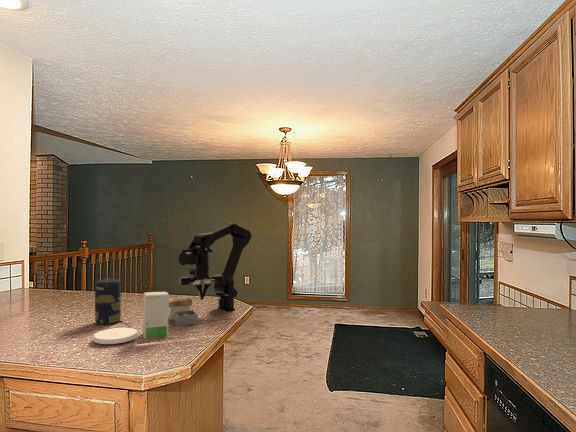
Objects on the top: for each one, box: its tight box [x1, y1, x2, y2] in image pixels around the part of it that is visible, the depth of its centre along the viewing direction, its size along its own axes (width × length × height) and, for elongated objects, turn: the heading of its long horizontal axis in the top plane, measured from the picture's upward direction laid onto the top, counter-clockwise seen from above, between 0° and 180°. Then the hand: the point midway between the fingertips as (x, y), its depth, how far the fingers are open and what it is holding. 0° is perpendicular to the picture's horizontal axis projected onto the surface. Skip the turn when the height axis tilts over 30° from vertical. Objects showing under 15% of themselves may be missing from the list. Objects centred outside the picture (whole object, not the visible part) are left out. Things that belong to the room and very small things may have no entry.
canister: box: [94, 277, 122, 325], centre depth 162 cm, size 10×10×18 cm
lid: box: [169, 295, 193, 307], centre depth 169 cm, size 9×9×2 cm
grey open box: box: [174, 309, 199, 327], centre depth 159 cm, size 8×8×4 cm
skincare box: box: [142, 291, 170, 340], centre depth 143 cm, size 8×7×16 cm
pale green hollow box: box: [168, 305, 191, 321], centre depth 169 cm, size 8×8×6 cm
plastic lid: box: [93, 327, 138, 345], centre depth 139 cm, size 14×14×2 cm
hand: (201, 299), depth 173 cm, fingers closed
